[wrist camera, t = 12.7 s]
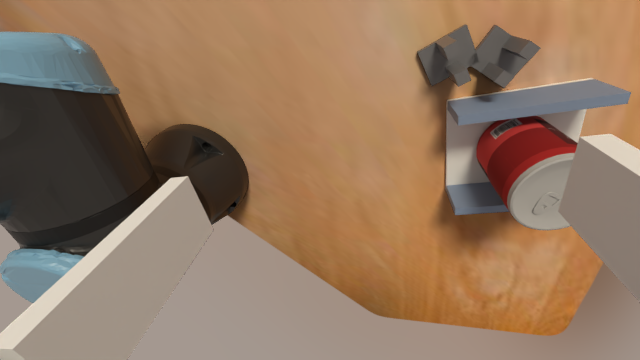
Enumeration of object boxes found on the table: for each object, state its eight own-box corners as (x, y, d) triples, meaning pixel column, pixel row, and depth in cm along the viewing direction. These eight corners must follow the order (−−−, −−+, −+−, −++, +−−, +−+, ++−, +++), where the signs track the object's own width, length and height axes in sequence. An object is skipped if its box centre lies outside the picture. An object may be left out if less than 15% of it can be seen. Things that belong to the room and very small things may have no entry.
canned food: (463, 165, 37) (494, 222, 27) (492, 104, 32) (540, 147, 23) (524, 177, 36) (576, 239, 27) (562, 117, 32) (640, 166, 23)
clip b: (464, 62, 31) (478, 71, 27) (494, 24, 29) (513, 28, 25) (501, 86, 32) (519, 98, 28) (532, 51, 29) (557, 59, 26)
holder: (445, 189, 39) (455, 214, 35) (446, 99, 33) (458, 116, 29) (565, 179, 36) (593, 206, 31) (591, 77, 30) (631, 92, 25)
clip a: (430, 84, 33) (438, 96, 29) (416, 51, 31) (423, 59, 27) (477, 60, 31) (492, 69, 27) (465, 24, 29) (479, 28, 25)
